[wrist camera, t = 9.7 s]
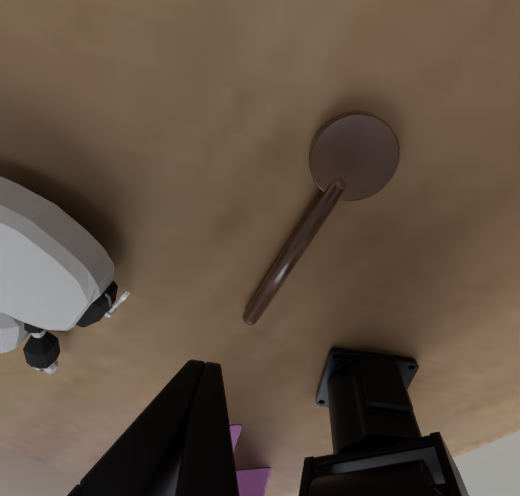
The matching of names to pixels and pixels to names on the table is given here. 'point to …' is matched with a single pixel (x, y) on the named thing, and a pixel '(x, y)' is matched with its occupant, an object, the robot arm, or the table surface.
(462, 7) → the table surface
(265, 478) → the toy chair
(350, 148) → the spoon
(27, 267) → the robot toy
